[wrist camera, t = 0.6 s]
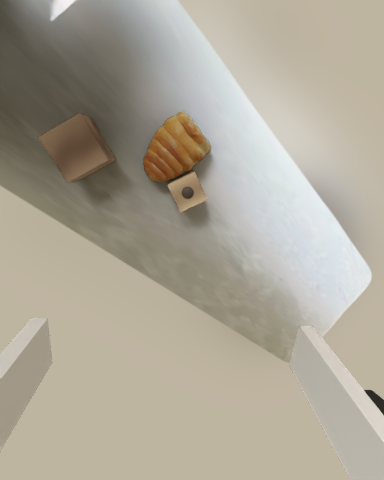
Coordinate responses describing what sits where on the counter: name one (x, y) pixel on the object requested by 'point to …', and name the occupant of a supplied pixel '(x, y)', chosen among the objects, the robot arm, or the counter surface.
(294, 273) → the counter surface
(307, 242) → the counter surface
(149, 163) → the pastry
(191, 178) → the beech block
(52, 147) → the walnut block
